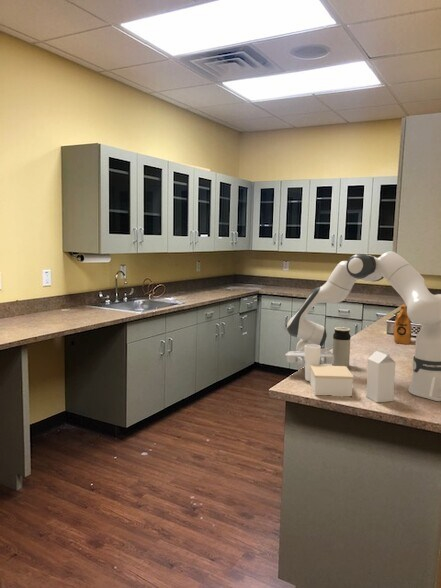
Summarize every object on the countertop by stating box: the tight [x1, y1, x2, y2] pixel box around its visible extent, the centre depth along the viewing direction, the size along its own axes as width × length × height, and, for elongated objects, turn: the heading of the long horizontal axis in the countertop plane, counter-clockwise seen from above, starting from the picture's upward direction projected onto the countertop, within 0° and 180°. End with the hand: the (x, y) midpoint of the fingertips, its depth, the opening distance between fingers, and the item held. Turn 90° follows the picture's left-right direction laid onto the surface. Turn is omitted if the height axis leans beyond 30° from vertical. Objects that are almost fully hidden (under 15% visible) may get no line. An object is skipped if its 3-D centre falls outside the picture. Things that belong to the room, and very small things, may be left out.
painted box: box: [309, 364, 355, 397], centre depth 185 cm, size 15×15×8 cm
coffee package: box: [393, 303, 412, 345], centre depth 273 cm, size 10×12×22 cm
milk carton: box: [365, 347, 396, 404], centre depth 175 cm, size 7×7×19 cm
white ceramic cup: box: [304, 344, 321, 382], centre depth 197 cm, size 7×7×15 cm
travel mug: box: [331, 326, 351, 368], centre depth 221 cm, size 8×8×18 cm
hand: (312, 362), depth 196 cm, fingers closed on white ceramic cup, 6 cm apart
